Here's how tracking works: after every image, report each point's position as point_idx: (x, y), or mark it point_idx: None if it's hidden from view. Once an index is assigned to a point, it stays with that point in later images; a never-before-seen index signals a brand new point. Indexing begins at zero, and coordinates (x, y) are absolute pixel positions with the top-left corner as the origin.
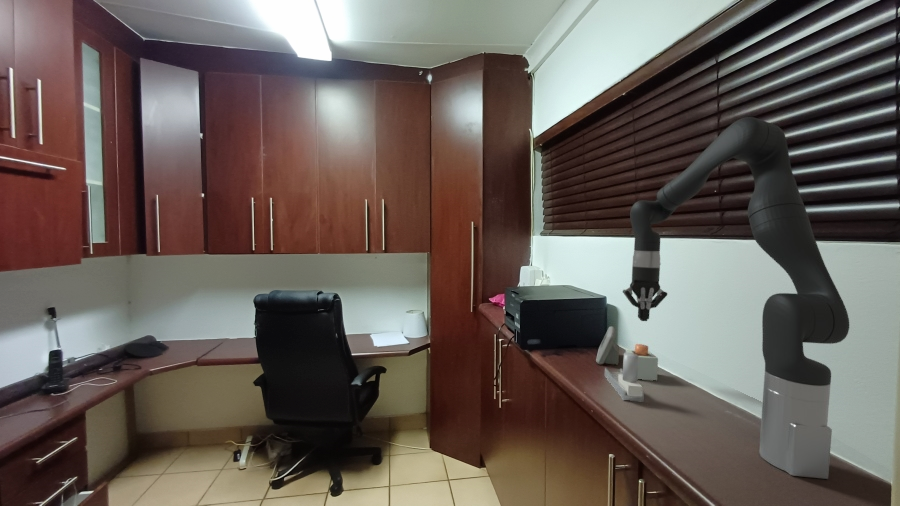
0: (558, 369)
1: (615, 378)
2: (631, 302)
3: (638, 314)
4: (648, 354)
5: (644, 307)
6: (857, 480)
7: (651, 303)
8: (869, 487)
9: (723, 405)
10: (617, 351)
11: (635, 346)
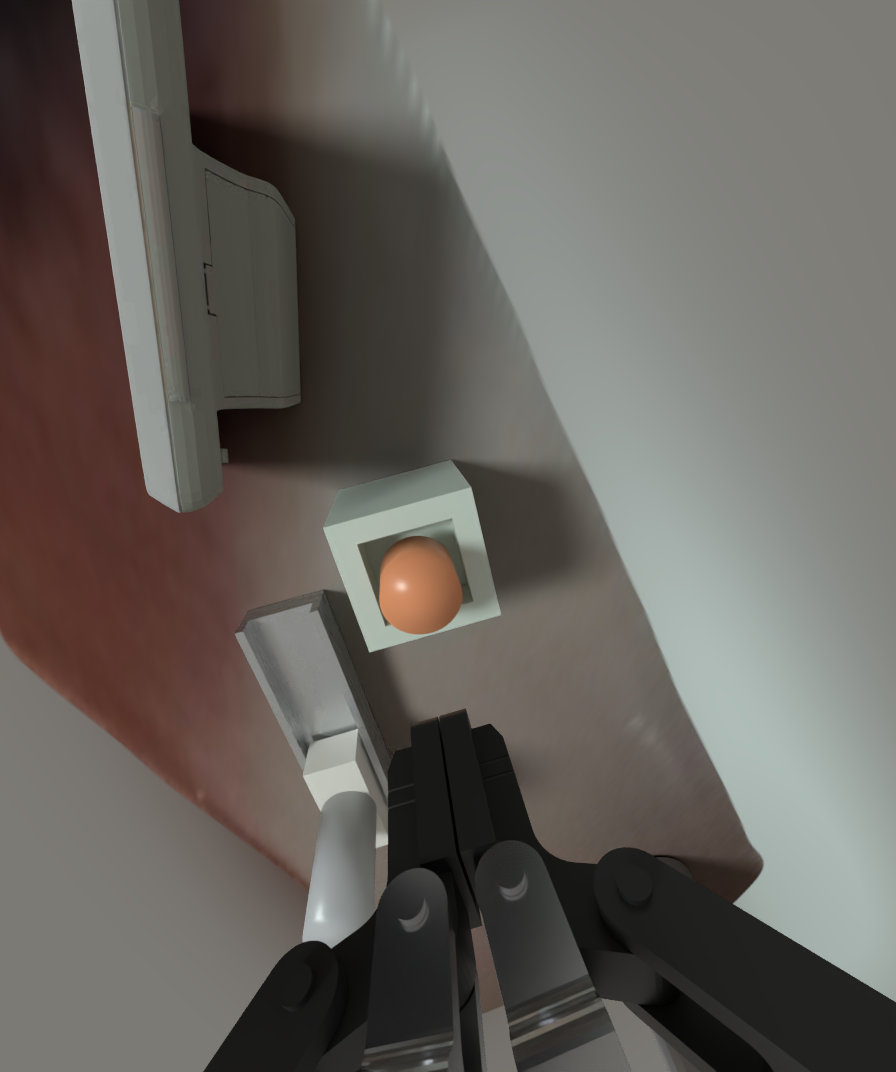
0: (9, 626)
1: (295, 739)
2: (246, 1059)
3: (393, 808)
4: (460, 551)
5: (475, 976)
6: (724, 886)
7: (627, 979)
8: (727, 896)
9: (643, 685)
10: (274, 406)
11: (380, 603)
